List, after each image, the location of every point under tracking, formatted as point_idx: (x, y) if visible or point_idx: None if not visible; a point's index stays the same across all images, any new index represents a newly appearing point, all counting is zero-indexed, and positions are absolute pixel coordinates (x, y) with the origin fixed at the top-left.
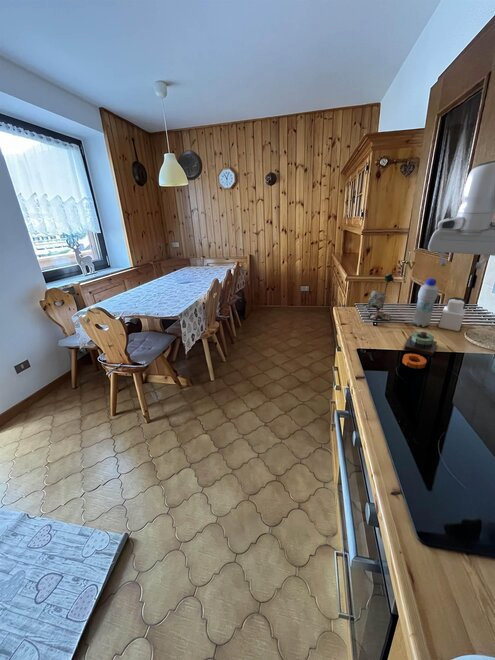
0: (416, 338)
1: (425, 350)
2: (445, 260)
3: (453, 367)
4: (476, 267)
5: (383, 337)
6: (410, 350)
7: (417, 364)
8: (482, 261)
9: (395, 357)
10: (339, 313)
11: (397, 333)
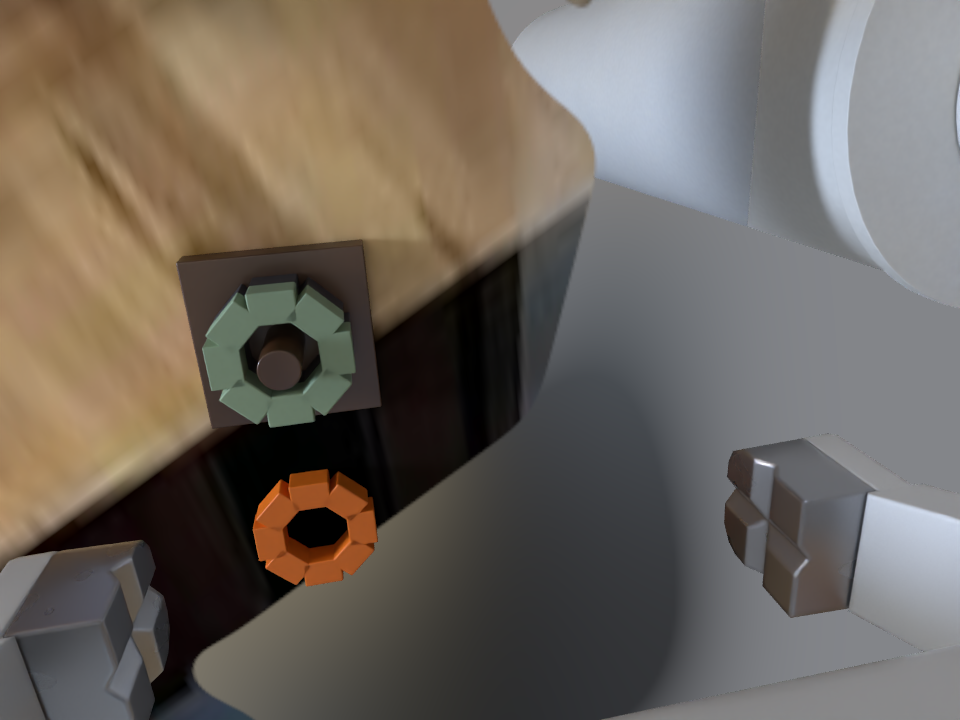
0: (257, 422)
1: (335, 408)
2: (83, 687)
3: (492, 440)
4: (753, 560)
5: (19, 338)
6: None
7: (345, 570)
8: (917, 629)
9: (215, 529)
10: None
11: (67, 208)
